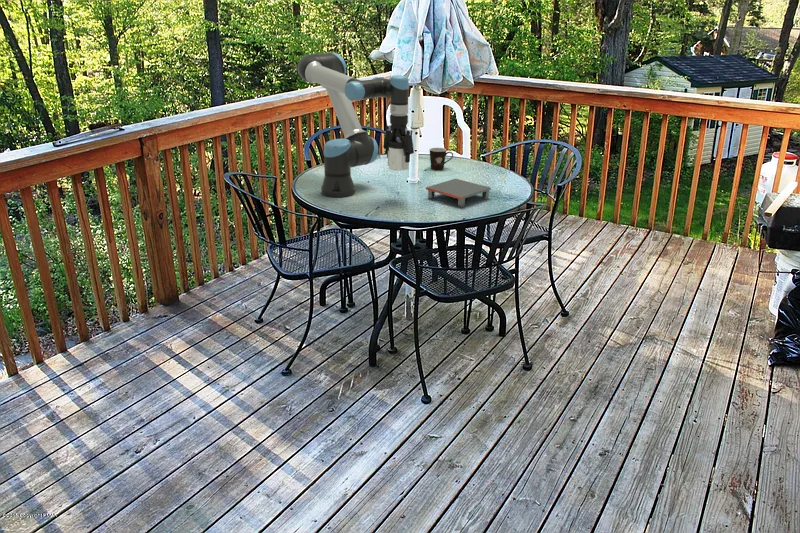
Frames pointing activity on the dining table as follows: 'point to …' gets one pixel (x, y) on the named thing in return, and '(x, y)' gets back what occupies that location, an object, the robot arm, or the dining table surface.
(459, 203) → the stand
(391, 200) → the dining table surface
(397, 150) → the jar
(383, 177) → the dining table surface
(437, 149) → the coffee mug
